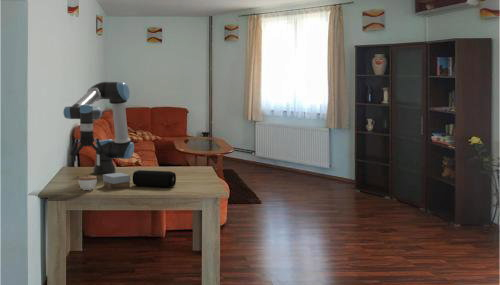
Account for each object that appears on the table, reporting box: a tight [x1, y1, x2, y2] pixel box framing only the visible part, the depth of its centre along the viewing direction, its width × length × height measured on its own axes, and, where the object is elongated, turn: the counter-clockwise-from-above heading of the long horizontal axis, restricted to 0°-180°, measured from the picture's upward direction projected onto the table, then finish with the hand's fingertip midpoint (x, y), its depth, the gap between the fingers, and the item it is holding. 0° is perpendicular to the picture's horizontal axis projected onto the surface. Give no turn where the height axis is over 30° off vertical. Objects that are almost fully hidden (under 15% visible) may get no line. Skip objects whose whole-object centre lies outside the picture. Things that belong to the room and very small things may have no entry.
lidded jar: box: [77, 173, 98, 191], centre depth 348 cm, size 11×11×9 cm
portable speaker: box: [132, 169, 177, 188], centre depth 361 cm, size 26×10×10 cm, turn 83°
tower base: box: [103, 181, 131, 190], centre depth 358 cm, size 12×12×4 cm
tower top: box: [102, 172, 131, 184], centre depth 357 cm, size 12×12×4 cm
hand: (87, 166), depth 346 cm, fingers open, 13 cm apart
